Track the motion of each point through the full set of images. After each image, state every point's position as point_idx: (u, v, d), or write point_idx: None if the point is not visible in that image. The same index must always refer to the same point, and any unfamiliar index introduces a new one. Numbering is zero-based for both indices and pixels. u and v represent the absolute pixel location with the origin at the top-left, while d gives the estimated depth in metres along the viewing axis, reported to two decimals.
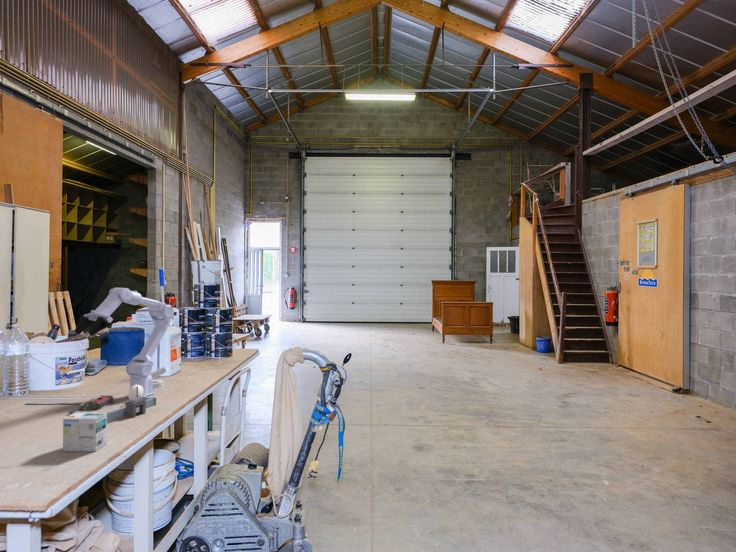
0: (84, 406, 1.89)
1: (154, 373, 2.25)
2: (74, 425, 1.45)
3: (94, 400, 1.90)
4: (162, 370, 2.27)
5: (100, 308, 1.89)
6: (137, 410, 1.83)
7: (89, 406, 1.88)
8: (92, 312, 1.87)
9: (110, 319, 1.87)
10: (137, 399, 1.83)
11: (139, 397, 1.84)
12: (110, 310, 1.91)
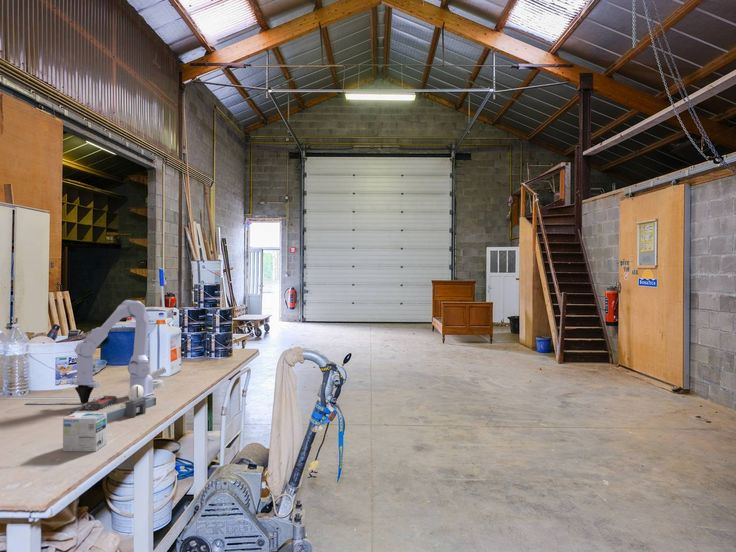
0: (86, 406, 1.89)
1: (154, 373, 2.25)
2: (74, 425, 1.45)
3: (96, 400, 1.90)
4: (162, 370, 2.27)
5: (80, 377, 1.89)
6: (137, 410, 1.83)
7: (91, 406, 1.89)
8: (76, 384, 1.89)
9: (97, 385, 1.90)
10: (137, 399, 1.83)
11: (139, 397, 1.84)
12: (90, 373, 1.91)
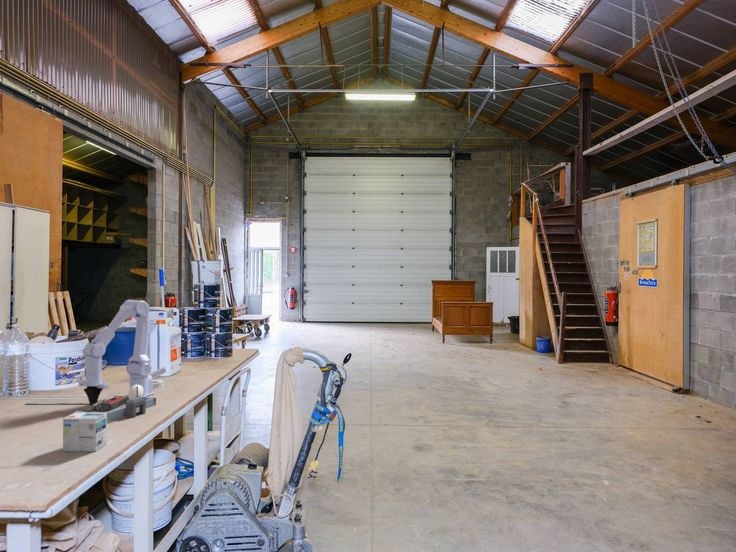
0: (97, 406, 1.88)
1: (154, 373, 2.25)
2: (74, 425, 1.45)
3: (106, 401, 1.89)
4: (162, 370, 2.27)
5: (89, 378, 1.88)
6: (137, 410, 1.83)
7: (101, 406, 1.88)
8: (85, 385, 1.88)
9: (106, 386, 1.88)
10: (137, 399, 1.83)
11: (139, 397, 1.84)
12: (98, 374, 1.90)
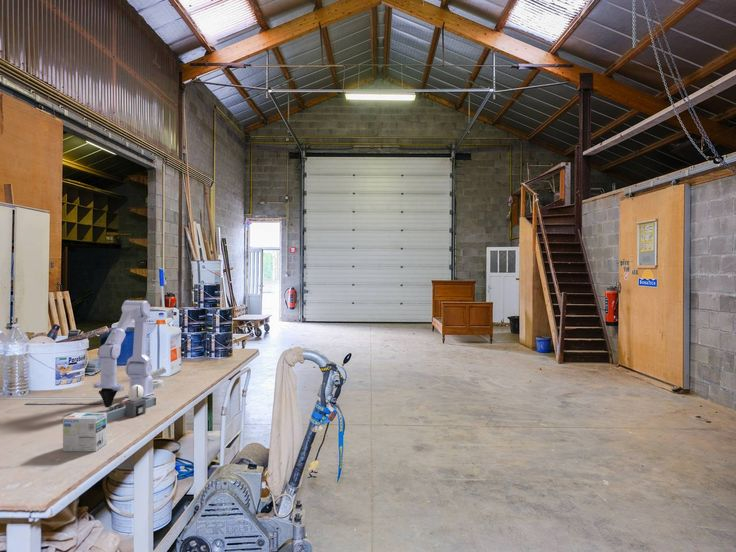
0: (114, 408, 1.86)
1: (154, 373, 2.25)
2: (74, 425, 1.45)
3: (124, 402, 1.87)
4: (162, 370, 2.27)
5: (104, 380, 1.85)
6: (140, 410, 1.82)
7: None
8: None
9: (121, 388, 1.85)
10: (137, 399, 1.83)
11: (139, 397, 1.84)
12: (113, 376, 1.87)
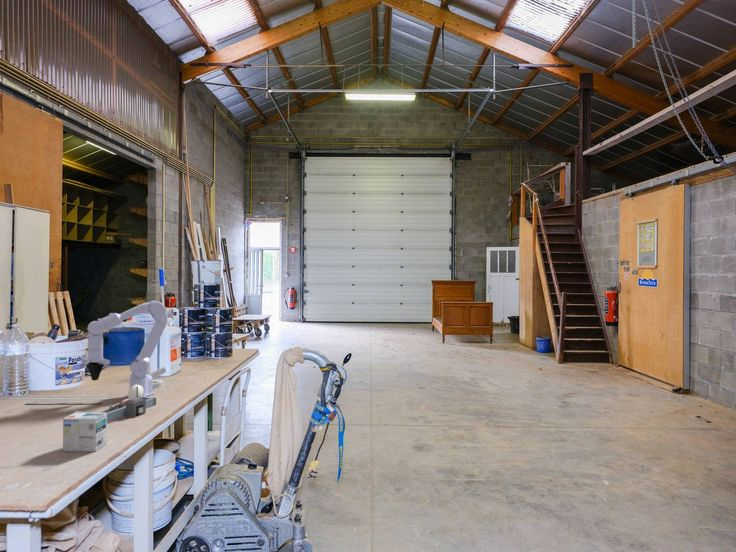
0: (114, 408, 1.87)
1: (154, 373, 2.25)
2: (74, 425, 1.45)
3: (124, 402, 1.87)
4: (162, 370, 2.27)
5: (91, 354, 1.97)
6: (140, 411, 1.82)
7: None
8: (88, 361, 1.97)
9: (107, 362, 1.97)
10: (137, 399, 1.83)
11: (139, 397, 1.84)
12: (100, 350, 1.99)
